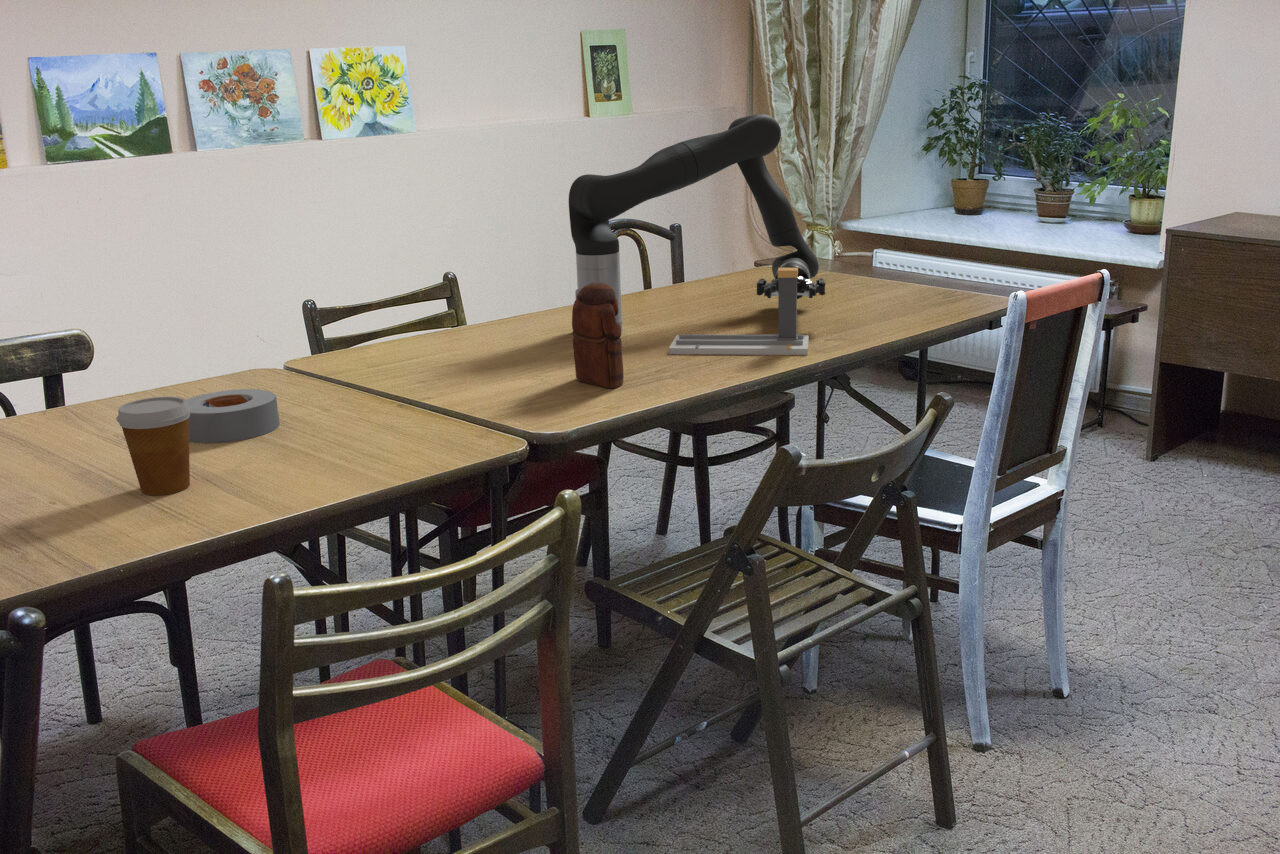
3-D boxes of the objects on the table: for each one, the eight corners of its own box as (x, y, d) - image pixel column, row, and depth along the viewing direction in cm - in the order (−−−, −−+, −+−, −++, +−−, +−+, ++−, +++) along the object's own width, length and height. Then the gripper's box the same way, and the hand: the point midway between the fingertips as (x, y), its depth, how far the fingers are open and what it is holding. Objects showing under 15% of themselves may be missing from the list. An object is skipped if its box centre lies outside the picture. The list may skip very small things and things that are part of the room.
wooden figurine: (636, 384, 208) (632, 284, 203) (609, 391, 204) (605, 289, 199) (593, 373, 217) (588, 277, 211) (566, 380, 213) (561, 282, 207)
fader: (776, 342, 230) (777, 270, 226) (777, 338, 233) (778, 267, 229) (797, 342, 229) (798, 270, 225) (797, 338, 233) (798, 267, 229)
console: (668, 354, 229) (668, 344, 229) (677, 340, 241) (676, 330, 241) (807, 355, 225) (807, 345, 224) (808, 340, 237) (808, 331, 237)
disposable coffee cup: (113, 496, 159) (98, 411, 156) (163, 474, 168) (150, 393, 164) (168, 503, 156) (154, 416, 152) (217, 480, 164) (205, 398, 161)
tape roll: (180, 424, 193) (175, 394, 192) (276, 412, 198) (272, 383, 197) (181, 449, 179) (176, 418, 178) (283, 436, 185) (279, 405, 183)
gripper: (759, 262, 254) (755, 275, 239) (825, 262, 252) (825, 274, 237) (759, 296, 257) (755, 311, 241) (825, 296, 254) (824, 311, 239)
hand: (789, 293), depth 239 cm, fingers open, 8 cm apart
